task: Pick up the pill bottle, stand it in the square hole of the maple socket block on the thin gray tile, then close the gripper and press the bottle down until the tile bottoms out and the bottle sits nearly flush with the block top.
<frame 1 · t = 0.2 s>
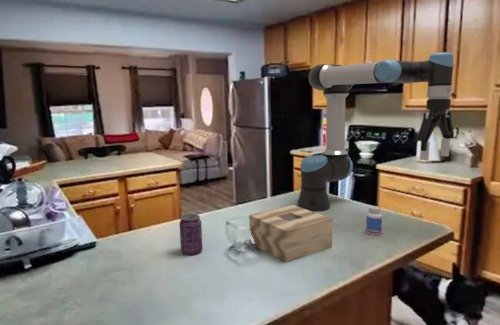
hand: (434, 158, 131), 27 cm above the kitchen island, fingers open, 13 cm apart
beverage can: (191, 252, 120), on the kitchen island
socket block: (290, 244, 124), on the kitchen island
pill bottle: (373, 233, 134), on the kitchen island
thin gray tile: (290, 221, 123), point 8 cm above the kitchen island, slide at 0.0 cm
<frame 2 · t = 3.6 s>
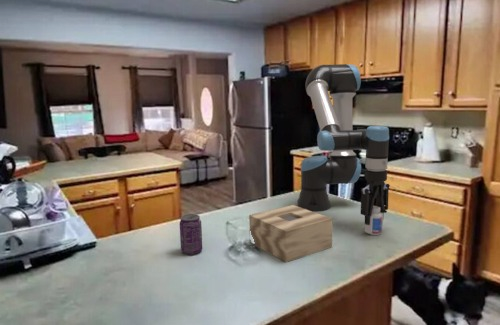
hand: (373, 230, 134), 1 cm above the kitchen island, fingers closed on pill bottle, 5 cm apart
pill bottle: (373, 233, 134), on the kitchen island, touching gripper
everything else where it was.
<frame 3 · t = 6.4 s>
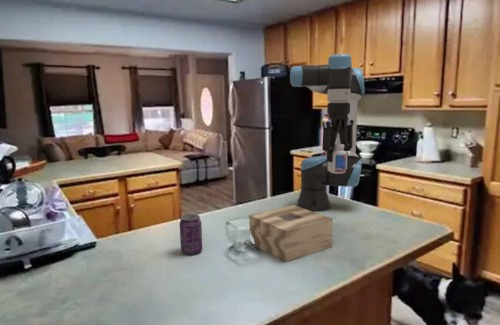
hand: (337, 169, 125), 25 cm above the kitchen island, fingers closed on pill bottle, 5 cm apart
pill bottle: (337, 173, 125), point 24 cm above the kitchen island, touching gripper
everything else where it was.
when the fingers open (12 cm above the kitchen island, at t = 9.6 s): pill bottle drops 9 cm, resting on thin gray tile.
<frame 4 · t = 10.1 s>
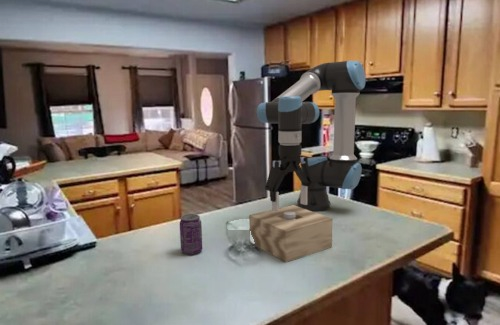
hand: (290, 207, 122), 13 cm above the kitchen island, fingers open, 12 cm apart
pill bottle: (289, 241, 124), point 1 cm above the kitchen island, touching thin gray tile
thin gray tile: (290, 242, 124), point 1 cm above the kitchen island, slide at -7.6 cm, touching pill bottle
everything else where it was.
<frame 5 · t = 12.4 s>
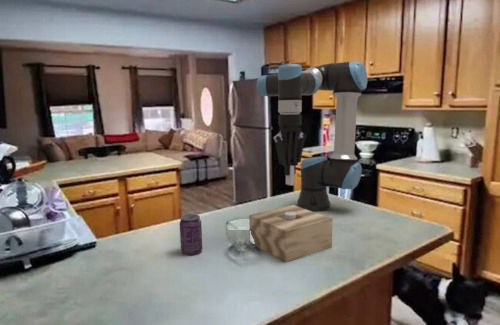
hand: (289, 184, 121), 21 cm above the kitchen island, fingers closed
nothing on the kitchen island moved.
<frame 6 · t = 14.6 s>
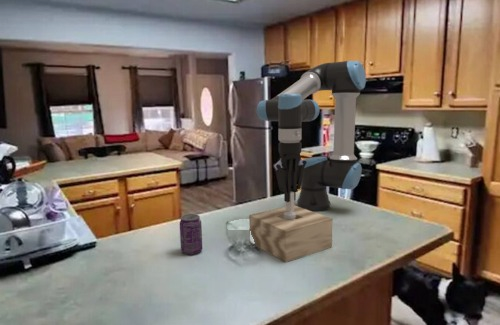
hand: (290, 210, 122), 12 cm above the kitchen island, fingers closed
nothing on the kitchen island moved.
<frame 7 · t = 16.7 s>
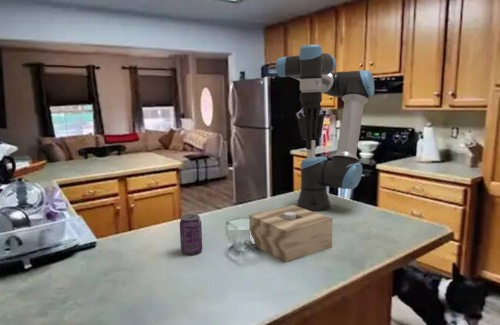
hand: (311, 157, 130), 28 cm above the kitchen island, fingers closed
nothing on the kitchen island moved.
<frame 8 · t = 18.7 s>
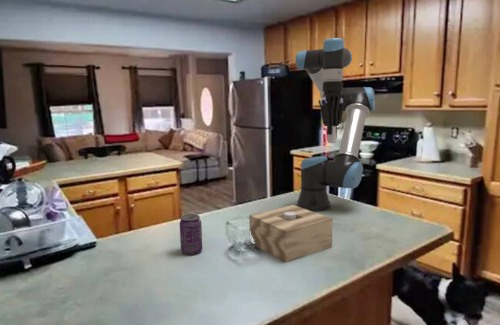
hand: (331, 142, 141), 32 cm above the kitchen island, fingers closed
nothing on the kitchen island moved.
at the end: thin gray tile slide at -7.5 cm; pill bottle 0.3 cm off-centre on the socket block, point 1.3 cm above the socket block's base; pill bottle tilted 0° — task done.
